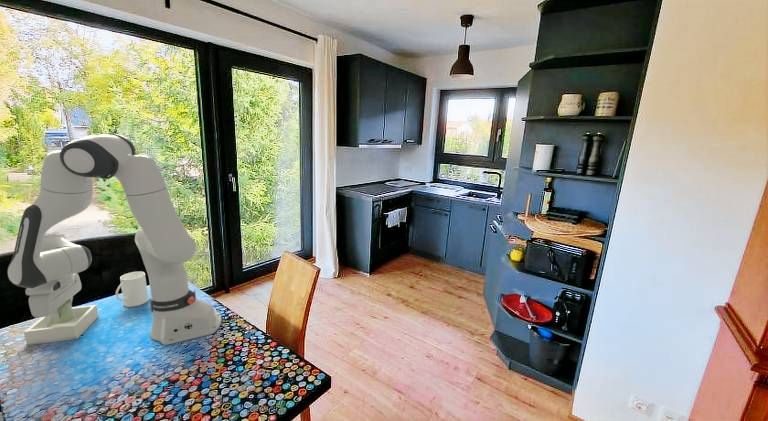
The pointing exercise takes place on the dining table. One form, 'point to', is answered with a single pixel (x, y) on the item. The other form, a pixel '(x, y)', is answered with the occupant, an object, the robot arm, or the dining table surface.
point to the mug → (133, 289)
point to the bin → (61, 326)
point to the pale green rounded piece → (64, 313)
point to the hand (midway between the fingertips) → (62, 314)
